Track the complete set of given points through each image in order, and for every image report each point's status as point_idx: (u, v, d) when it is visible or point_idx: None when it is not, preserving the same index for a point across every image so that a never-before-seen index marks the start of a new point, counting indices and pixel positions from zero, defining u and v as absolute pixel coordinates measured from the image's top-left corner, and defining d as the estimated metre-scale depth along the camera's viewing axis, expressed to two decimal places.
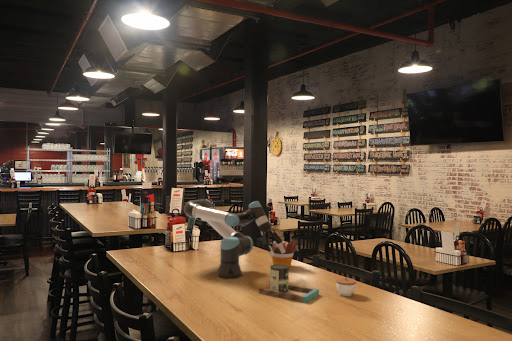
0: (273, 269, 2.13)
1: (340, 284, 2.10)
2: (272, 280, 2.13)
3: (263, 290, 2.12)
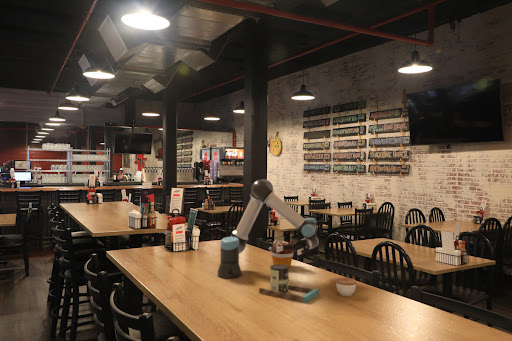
0: (273, 269, 2.13)
1: (340, 284, 2.10)
2: (272, 280, 2.13)
3: (263, 290, 2.12)
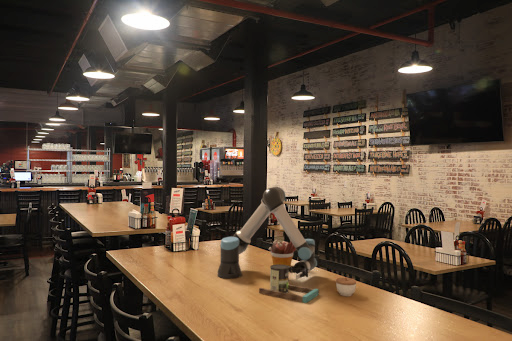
0: (273, 269, 2.13)
1: (340, 284, 2.10)
2: (272, 280, 2.13)
3: (263, 290, 2.12)
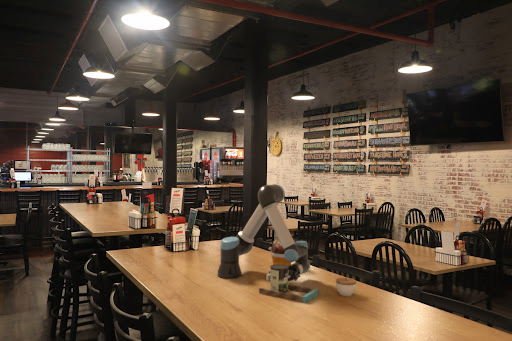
0: (273, 269, 2.13)
1: (340, 284, 2.10)
2: (272, 280, 2.13)
3: (263, 290, 2.12)
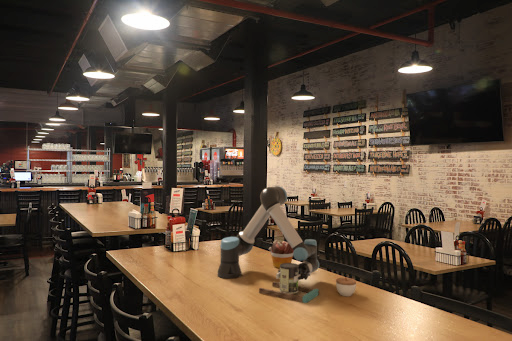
0: (283, 268, 2.10)
1: (340, 284, 2.10)
2: (282, 279, 2.10)
3: (263, 290, 2.12)
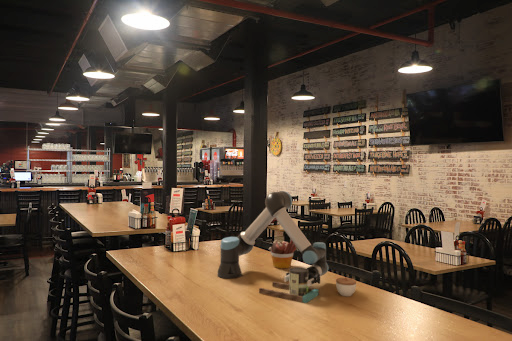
0: (293, 272, 2.06)
1: (340, 284, 2.10)
2: (291, 284, 2.07)
3: (263, 290, 2.12)
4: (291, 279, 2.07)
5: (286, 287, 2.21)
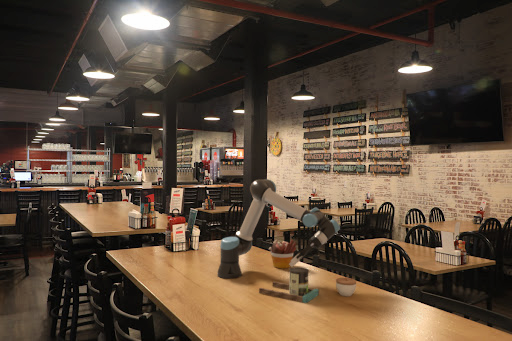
0: (293, 272, 2.06)
1: (340, 284, 2.10)
2: (291, 284, 2.07)
3: (263, 290, 2.12)
4: (291, 279, 2.07)
5: (286, 287, 2.21)
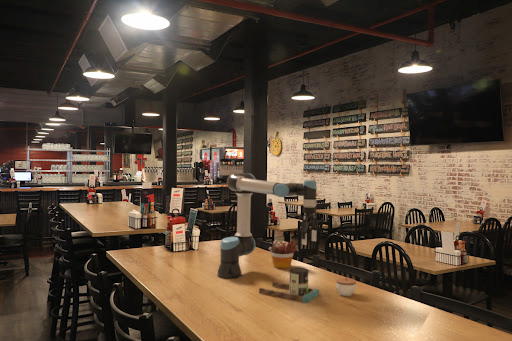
0: (293, 272, 2.06)
1: (340, 284, 2.10)
2: (291, 284, 2.07)
3: (263, 290, 2.12)
4: (291, 279, 2.07)
5: (286, 287, 2.21)
